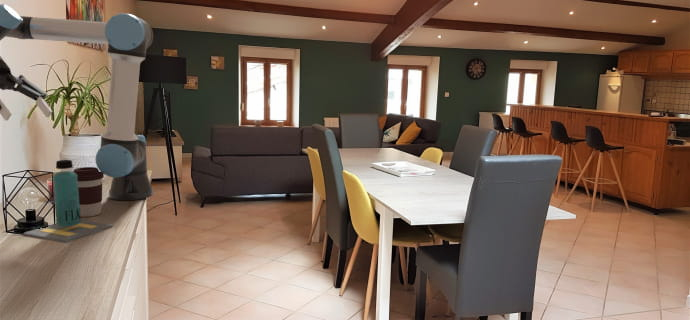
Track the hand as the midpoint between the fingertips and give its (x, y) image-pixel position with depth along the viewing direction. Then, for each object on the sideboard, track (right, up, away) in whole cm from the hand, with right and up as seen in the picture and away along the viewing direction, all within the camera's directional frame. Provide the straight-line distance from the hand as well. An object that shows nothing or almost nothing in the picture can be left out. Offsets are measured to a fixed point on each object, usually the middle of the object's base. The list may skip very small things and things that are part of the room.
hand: (30, 116), depth 155 cm
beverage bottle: (+18, -34, -10) cm, 39 cm away
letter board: (+18, -34, -10) cm, 40 cm away
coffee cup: (+15, -31, +7) cm, 35 cm away
